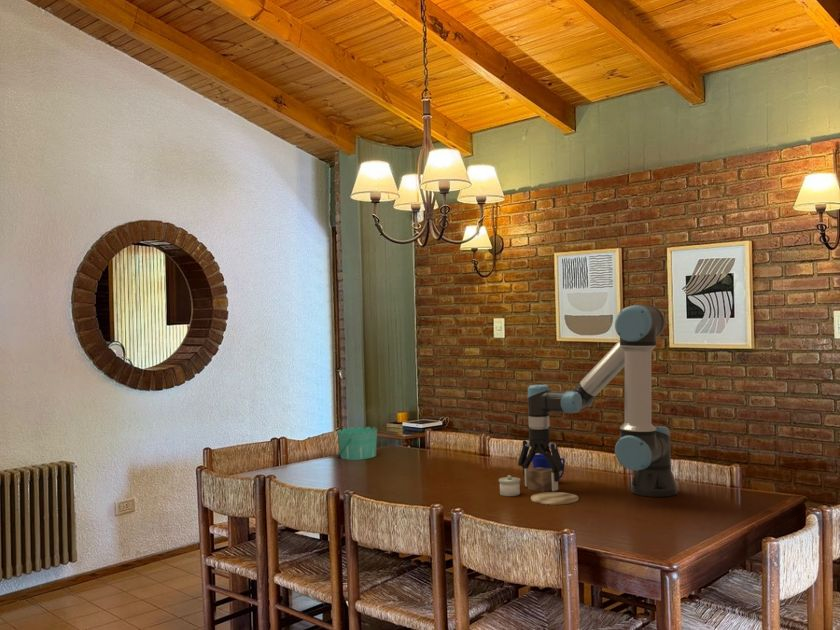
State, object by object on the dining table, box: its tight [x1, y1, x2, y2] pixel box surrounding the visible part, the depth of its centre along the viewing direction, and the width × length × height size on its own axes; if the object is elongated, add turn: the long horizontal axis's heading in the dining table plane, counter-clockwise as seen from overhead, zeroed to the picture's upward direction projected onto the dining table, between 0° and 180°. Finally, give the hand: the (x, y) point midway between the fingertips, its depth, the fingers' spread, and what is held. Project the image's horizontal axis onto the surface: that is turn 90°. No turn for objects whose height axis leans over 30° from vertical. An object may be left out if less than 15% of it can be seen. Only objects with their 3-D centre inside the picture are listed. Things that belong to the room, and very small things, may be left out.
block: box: [527, 467, 553, 493], centre depth 269 cm, size 7×7×7 cm
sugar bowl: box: [498, 474, 521, 497], centre depth 263 cm, size 8×8×7 cm
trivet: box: [530, 491, 580, 506], centre depth 253 cm, size 16×16×1 cm
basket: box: [336, 426, 378, 461], centre depth 350 cm, size 19×18×13 cm
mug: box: [531, 453, 566, 479], centre depth 279 cm, size 8×12×10 cm
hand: (541, 488), depth 269 cm, fingers open, 11 cm apart
